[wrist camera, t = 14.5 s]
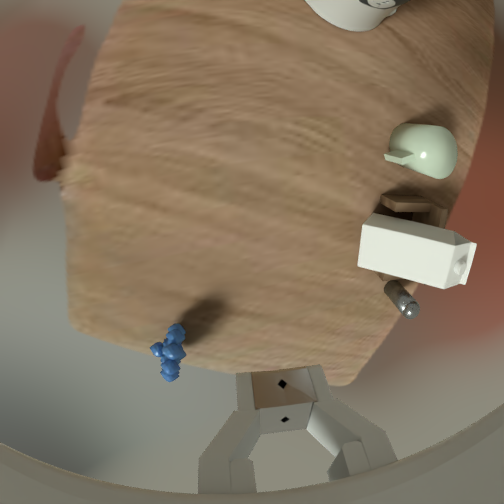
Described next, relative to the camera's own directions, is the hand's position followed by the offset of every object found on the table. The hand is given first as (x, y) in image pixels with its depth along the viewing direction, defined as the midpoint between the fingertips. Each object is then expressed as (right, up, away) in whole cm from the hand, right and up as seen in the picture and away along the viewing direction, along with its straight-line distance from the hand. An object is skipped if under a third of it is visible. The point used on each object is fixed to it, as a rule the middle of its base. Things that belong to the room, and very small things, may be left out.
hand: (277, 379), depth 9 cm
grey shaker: (+27, -3, +43) cm, 51 cm away
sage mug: (+25, +22, +31) cm, 45 cm away
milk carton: (+17, +7, +34) cm, 39 cm away
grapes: (-16, -10, +42) cm, 47 cm away
